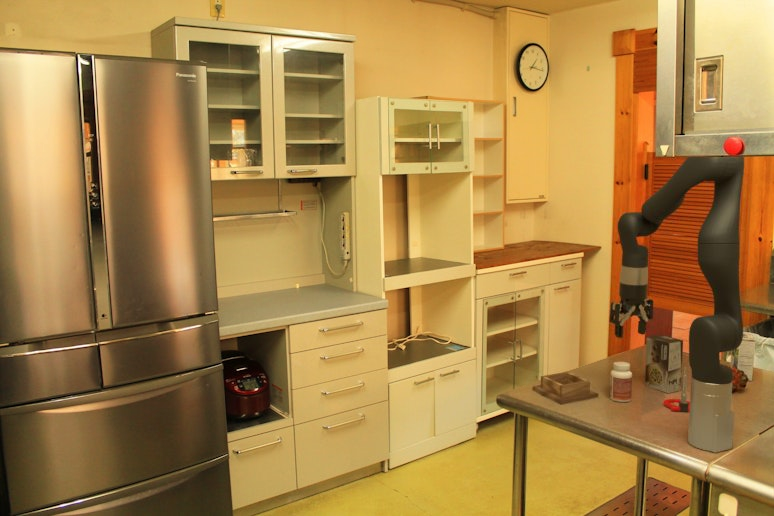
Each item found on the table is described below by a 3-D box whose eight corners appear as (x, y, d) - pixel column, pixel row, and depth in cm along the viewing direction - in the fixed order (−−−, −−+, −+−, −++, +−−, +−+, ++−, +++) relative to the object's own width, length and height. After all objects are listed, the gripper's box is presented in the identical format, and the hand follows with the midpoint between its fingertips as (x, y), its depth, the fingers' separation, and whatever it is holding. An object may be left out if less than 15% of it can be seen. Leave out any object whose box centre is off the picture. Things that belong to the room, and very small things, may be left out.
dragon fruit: (751, 398, 201) (707, 398, 206) (748, 376, 207) (706, 376, 212) (749, 382, 196) (705, 382, 201) (746, 359, 202) (703, 360, 207)
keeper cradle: (598, 397, 200) (598, 382, 199) (560, 404, 194) (561, 389, 193) (568, 383, 212) (568, 369, 212) (532, 390, 207) (532, 375, 206)
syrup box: (729, 374, 219) (731, 332, 217) (748, 376, 217) (751, 333, 215) (733, 380, 213) (735, 336, 211) (753, 381, 212) (756, 337, 210)
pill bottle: (635, 401, 196) (637, 365, 194) (619, 404, 194) (620, 367, 192) (622, 394, 202) (623, 359, 200) (605, 397, 200) (606, 362, 198)
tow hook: (660, 401, 197) (668, 412, 187) (661, 359, 195) (670, 367, 186) (689, 403, 195) (699, 413, 186) (691, 360, 194) (701, 369, 185)
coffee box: (681, 390, 205) (684, 340, 202) (667, 393, 202) (669, 343, 199) (658, 382, 213) (660, 333, 210) (643, 385, 210) (646, 336, 208)
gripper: (624, 286, 182) (620, 342, 185) (662, 281, 188) (658, 336, 191) (605, 281, 189) (602, 335, 192) (642, 276, 195) (639, 329, 197)
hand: (630, 335), depth 191 cm, fingers open, 8 cm apart
